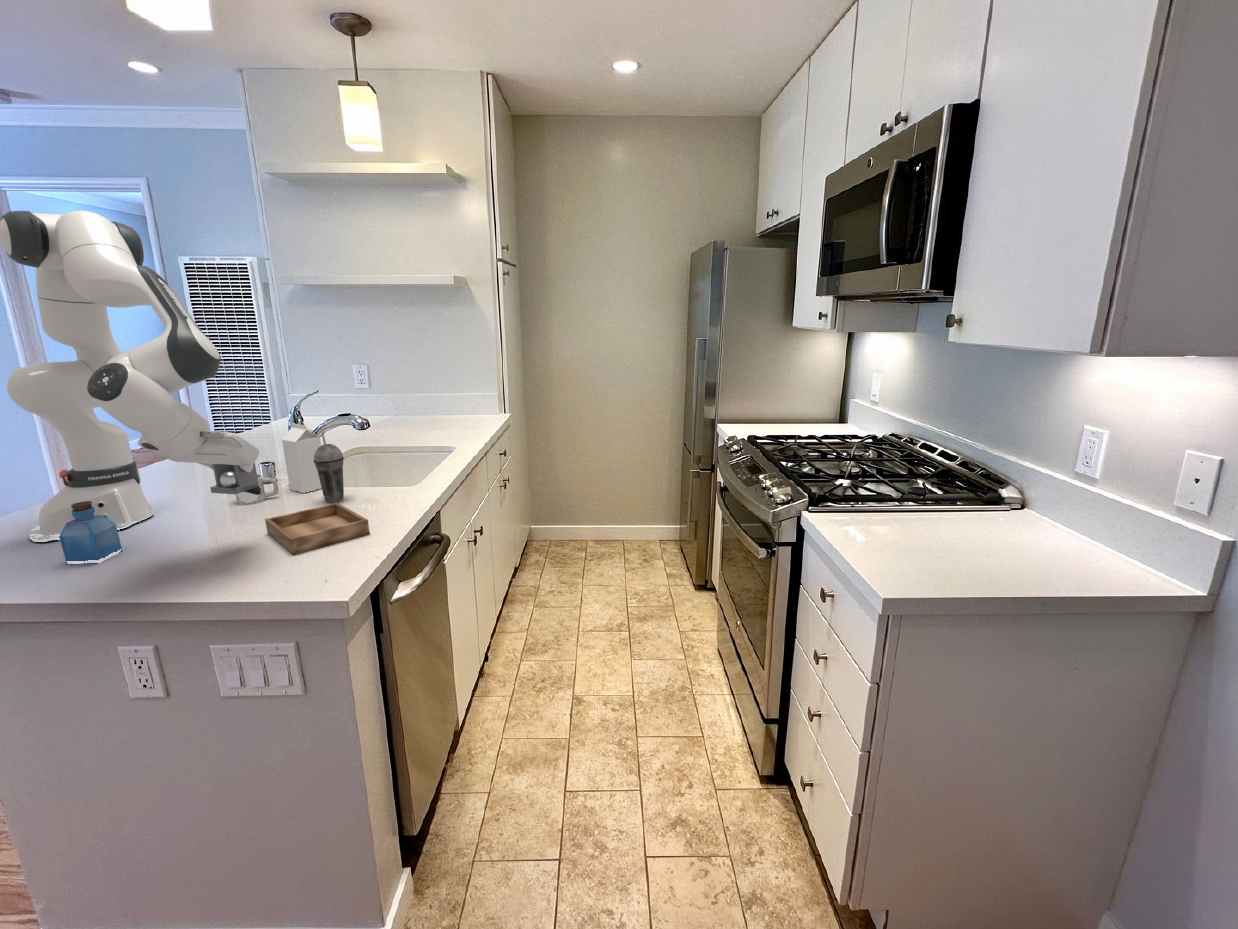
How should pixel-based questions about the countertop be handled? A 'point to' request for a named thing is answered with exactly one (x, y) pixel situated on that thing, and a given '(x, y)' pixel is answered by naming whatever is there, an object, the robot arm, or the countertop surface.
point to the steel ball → (228, 479)
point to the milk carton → (301, 458)
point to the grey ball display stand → (243, 478)
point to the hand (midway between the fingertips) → (234, 468)
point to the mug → (257, 492)
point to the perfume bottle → (88, 535)
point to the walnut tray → (316, 528)
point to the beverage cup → (330, 471)
